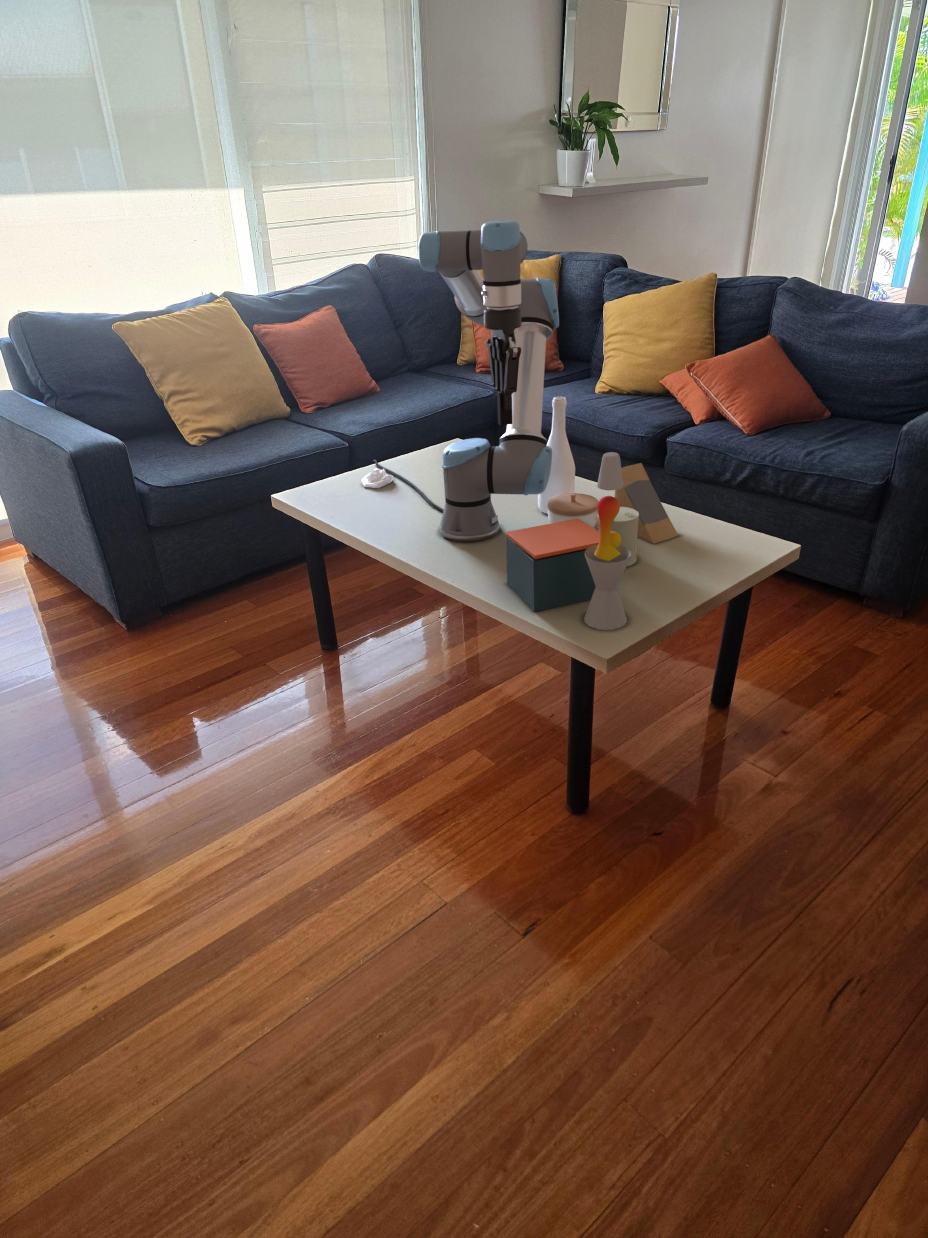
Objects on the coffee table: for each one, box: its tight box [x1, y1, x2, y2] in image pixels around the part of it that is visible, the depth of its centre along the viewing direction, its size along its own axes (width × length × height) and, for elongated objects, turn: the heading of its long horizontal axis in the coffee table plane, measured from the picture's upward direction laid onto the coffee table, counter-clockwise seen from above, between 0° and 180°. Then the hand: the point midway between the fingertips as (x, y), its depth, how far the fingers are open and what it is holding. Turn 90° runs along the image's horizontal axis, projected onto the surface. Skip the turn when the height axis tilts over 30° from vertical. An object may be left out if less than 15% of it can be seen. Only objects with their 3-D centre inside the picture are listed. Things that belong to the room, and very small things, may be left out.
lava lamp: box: [583, 451, 631, 631], centre depth 162 cm, size 9×9×35 cm
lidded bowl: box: [547, 492, 599, 529], centre depth 206 cm, size 13×13×11 cm
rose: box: [361, 467, 394, 489], centre depth 250 cm, size 10×4×10 cm
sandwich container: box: [614, 462, 679, 544], centre depth 206 cm, size 9×15×15 cm, turn 31°
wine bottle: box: [537, 396, 576, 515], centre depth 218 cm, size 10×10×30 cm
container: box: [505, 535, 596, 613], centre depth 181 cm, size 15×18×12 cm
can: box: [598, 507, 639, 568], centre depth 193 cm, size 9×9×12 cm
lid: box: [505, 518, 600, 559], centre depth 177 cm, size 15×18×1 cm
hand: (505, 423), depth 177 cm, fingers closed
